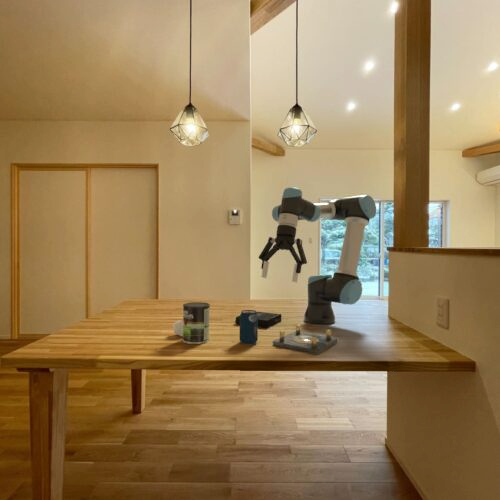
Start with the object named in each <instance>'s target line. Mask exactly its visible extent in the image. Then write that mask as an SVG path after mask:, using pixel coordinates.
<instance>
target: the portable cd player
mask: <svg viewBox="0 0 500 500" xmlns="http://www.w3.org/2000/svg"><path fill="white" fill-rule="evenodd" d="M256 313H257V315H258V328H262V329H269V328H271V327H273V326H275V325H277V324H279V323H281V322H282V314H281V313H273V312H272V313H271V312H263V311H256ZM234 323H235V325H239V326H240V315H237V316H236V317H235V321H234Z"/></svg>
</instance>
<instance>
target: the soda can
mask: <svg viewBox="0 0 500 500" xmlns="http://www.w3.org/2000/svg"><path fill="white" fill-rule="evenodd" d="M240 312H241V313H240V314H239V316H240V325H239V341H240V343H241V344H242V345H247V346H250V345H252V346H253V345H255V344H256V343H257V342H258V339H259V337H258V336H259V335H258V334H259V330H258V329H259V327H258V315H257V313H256V312H257V311H256V310H254V309H243V310H241V311H240Z"/></svg>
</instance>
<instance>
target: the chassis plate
mask: <svg viewBox="0 0 500 500" xmlns="http://www.w3.org/2000/svg"><path fill="white" fill-rule="evenodd" d="M301 326H302V325H301V324H295V331H293V332H291V333H288V334H286V335H285V330H279V338H277V339H274V340H272V346H274V347H275V346H276V347H280V348H285V349H289V350H294V351H298V352H303V353H307V354H312V355H313V354H314V355H319V354H321V353H323V352H324V351H326V350H327V349H329V348H330V347H333V346H335V345H336V344H337V343H338V338H336V337H332V329H330V328H328V329H327V328H326V329H325V335H320V334H319V335H318V334H314V333H313V334H312V333H308V332H302V331H301Z"/></svg>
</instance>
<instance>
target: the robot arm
mask: <svg viewBox="0 0 500 500" xmlns="http://www.w3.org/2000/svg"><path fill="white" fill-rule="evenodd" d="M376 205H377V204H376V202H375V200H374V199H373V197H372V196H371V195H368V194H360V195H354V196H348V197H346V196H345V197H342V198H336V199H333V200H326V201H325V200H324V202H322V203H321V202H320V203H314V202H312V201H309V200H307V199H305V198H303V191H302V190H301V189H300V188H298V187H293V186H292V187H291V186H290V187H286V188H284V190H283V192H282V196H281V204H280V205H276V206H274V207H273V208H272V211H271V216H272V219H273V220H274V221H275V222H277V224H278V226H277V228H276V237H275V238H274V237H271V236H270V237H268V240H267V243H266V244H265V246H264V248H263V249H262V251H261V252H260V254H259V255H258V259H259V260H261V261H262V262H261V270H262V271H261V278H264V279H267V276H268V271H269V264H270V262H269V260H270V259H271V258H272V257H273V256H274V255H275V254H277V252H278V251H283V250H285V251H289V253H290V254H291V256H292V257H293V259H294V261H295V263H294V267H293V272H292V277H291V282H294V283H298V280H299V279H298V277H299V274H301V272H302V266H303V265H306V264H308V260H307V257H306V253H305V251H304V246H303V240H302V239H301V238H298V237H297V238H295V237H296V235H297V227H298V222H299V221H307V222H310V223H314V222H316V221H318V220H319V219H324V220H327V221H331V220H333V221H344V222H345V223H346V227H345V232H344V237H343V241H342V247H341V252H340V257H339V263H338V267H337V270H336V271H334V272H333V275H332V274H321V275H319V274H318V275H310V276H309V277H308V280H307V306H306V310H305V313H304V317H303V318H304V319H303V321H304V322H307V323H311V324H316V325H318V324H319V325H329V324H333V323H335V322H336V316H335V313H334V310H333V306H332V303H336V304H342V305H354V304H356V303H357V302H358V301H359V300H360V299H361V297H362V294H363V285H362V282H361V281H360V277H359V275H358V274H357V271H358V267H359V266H358V265H359V261H360V256H361V255H360V254H361V250H362V245H363V238H364V234H365V228H366V226H368V225H370V219H371V220H372V219H374V218H375V217H376V215H377V206H376ZM294 245H296V248H297V251H298V253H297V251H296V249H295V248H294Z"/></svg>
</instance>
